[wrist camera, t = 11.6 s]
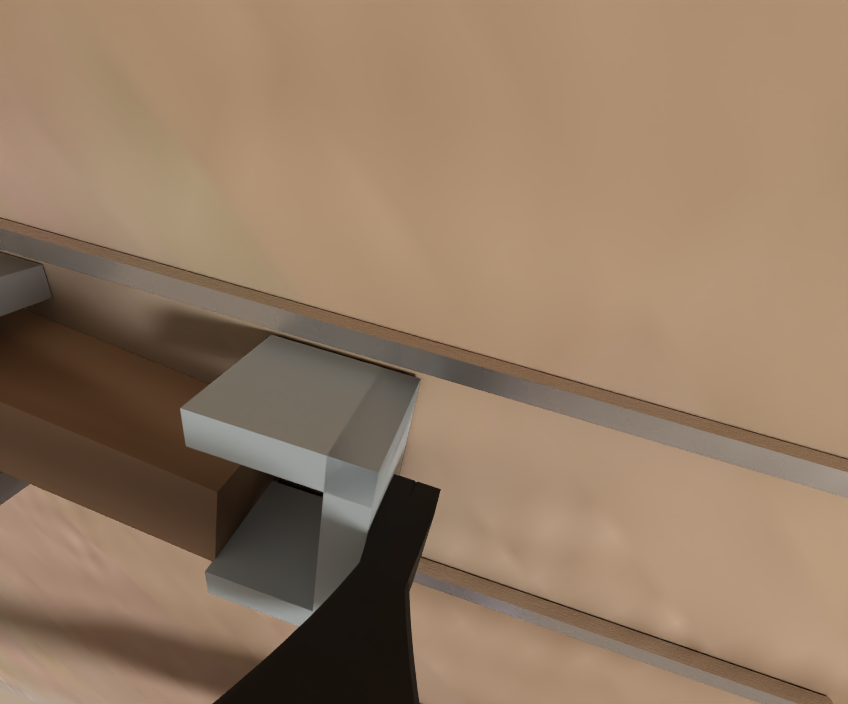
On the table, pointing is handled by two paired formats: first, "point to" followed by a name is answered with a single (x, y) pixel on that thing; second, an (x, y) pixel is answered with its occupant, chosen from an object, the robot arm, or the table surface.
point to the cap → (301, 467)
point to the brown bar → (114, 436)
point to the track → (499, 379)
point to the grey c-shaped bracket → (10, 291)
